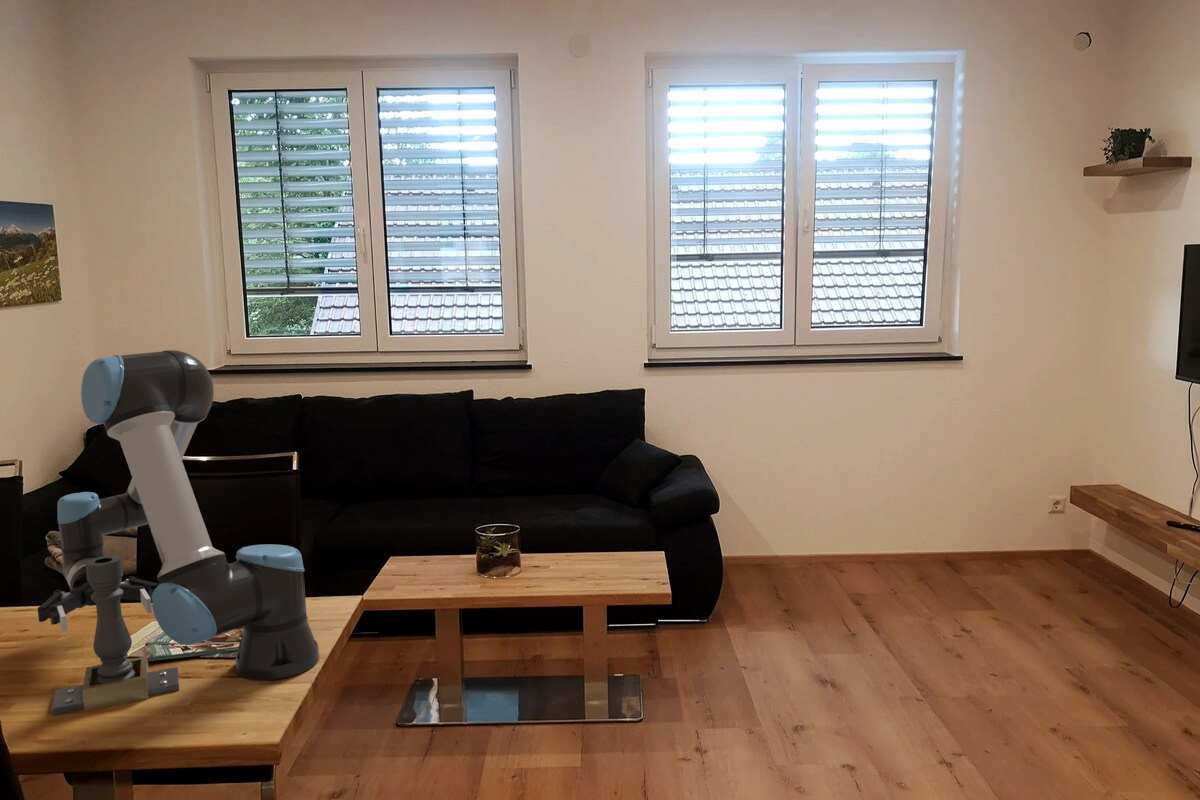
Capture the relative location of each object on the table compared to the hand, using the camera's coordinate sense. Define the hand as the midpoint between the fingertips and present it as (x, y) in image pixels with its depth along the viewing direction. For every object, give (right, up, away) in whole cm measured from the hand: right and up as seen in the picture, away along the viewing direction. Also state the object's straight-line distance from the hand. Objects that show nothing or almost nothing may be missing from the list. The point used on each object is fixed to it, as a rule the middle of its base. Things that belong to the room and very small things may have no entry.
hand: (107, 614), depth 166 cm
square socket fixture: (+1, -15, +2) cm, 15 cm away
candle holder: (+1, -15, +2) cm, 15 cm away
